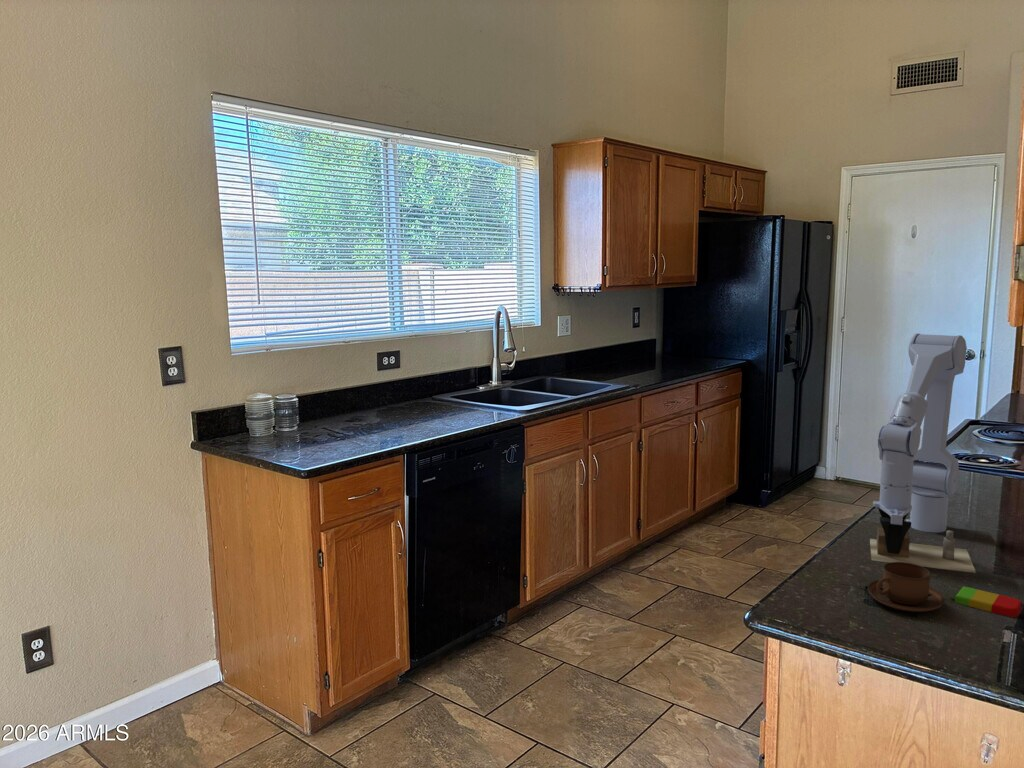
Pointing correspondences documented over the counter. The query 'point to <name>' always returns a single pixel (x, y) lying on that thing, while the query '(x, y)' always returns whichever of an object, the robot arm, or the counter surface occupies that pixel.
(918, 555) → the fitting board
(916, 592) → the cup and saucer
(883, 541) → the collar
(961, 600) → the popsicle
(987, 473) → the counter surface
